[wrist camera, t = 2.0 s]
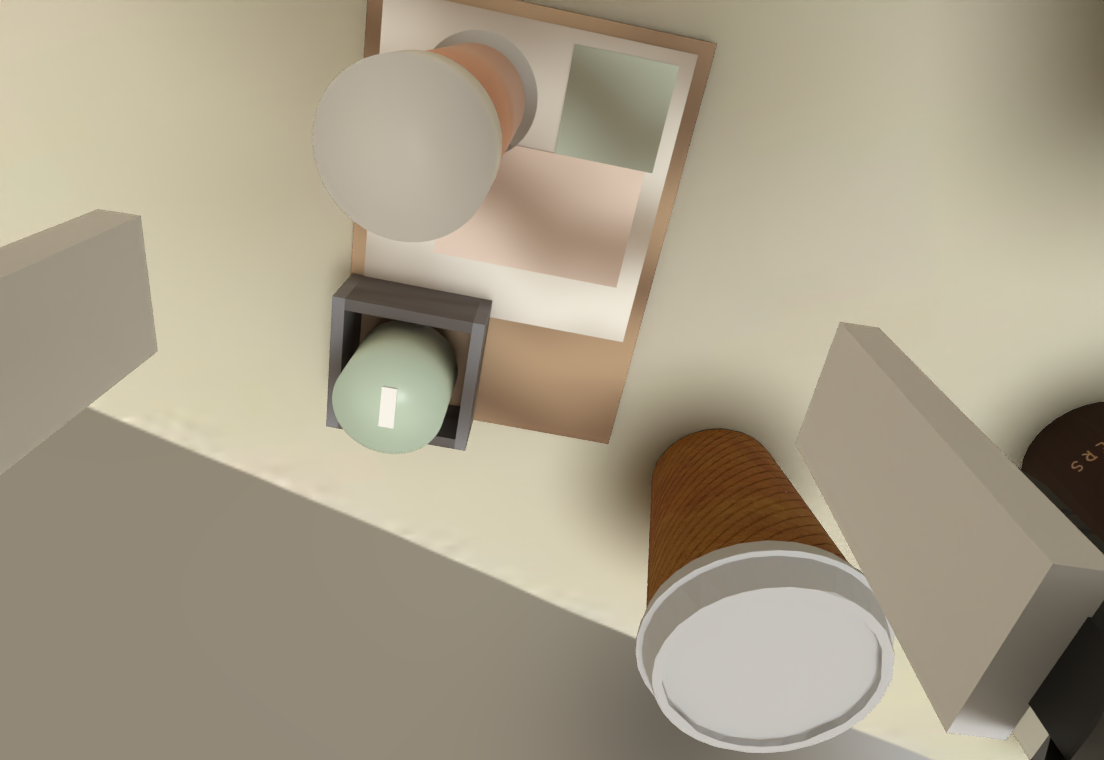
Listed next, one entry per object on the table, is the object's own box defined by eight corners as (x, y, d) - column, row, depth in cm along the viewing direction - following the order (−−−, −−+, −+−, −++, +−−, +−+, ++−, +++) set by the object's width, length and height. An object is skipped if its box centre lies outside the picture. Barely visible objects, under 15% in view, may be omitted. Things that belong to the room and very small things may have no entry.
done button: (360, 311, 29) (333, 347, 26) (464, 330, 30) (450, 368, 26) (354, 400, 31) (328, 444, 28) (451, 417, 32) (437, 464, 28)
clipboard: (373, -31, 26) (345, -38, 23) (714, 43, 26) (732, 46, 23) (347, 390, 34) (323, 427, 31) (607, 437, 35) (611, 478, 32)
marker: (432, 28, 26) (315, 34, 14) (538, 51, 26) (508, 74, 14) (421, 139, 28) (309, 224, 16) (520, 159, 28) (480, 257, 16)
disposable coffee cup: (847, 453, 35) (968, 645, 24) (732, 577, 39) (791, 789, 28) (689, 366, 33) (745, 532, 22) (585, 505, 37) (588, 704, 26)
